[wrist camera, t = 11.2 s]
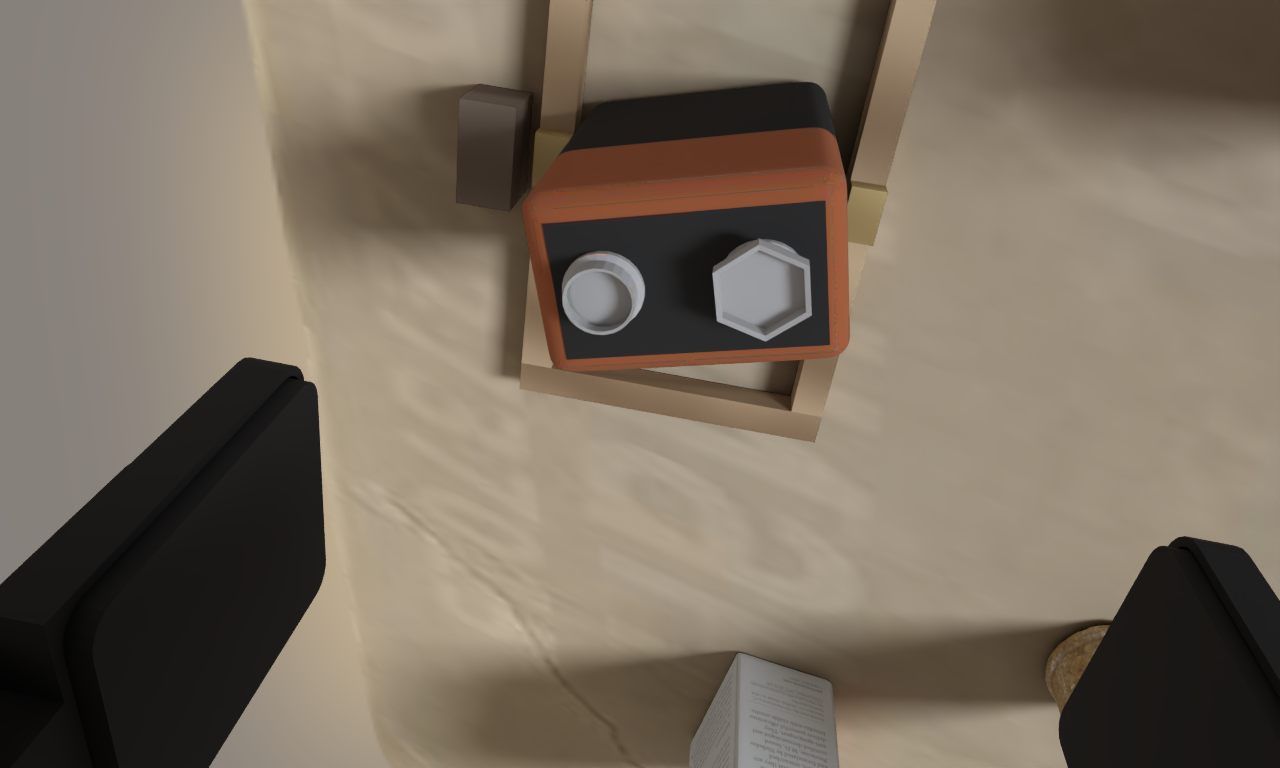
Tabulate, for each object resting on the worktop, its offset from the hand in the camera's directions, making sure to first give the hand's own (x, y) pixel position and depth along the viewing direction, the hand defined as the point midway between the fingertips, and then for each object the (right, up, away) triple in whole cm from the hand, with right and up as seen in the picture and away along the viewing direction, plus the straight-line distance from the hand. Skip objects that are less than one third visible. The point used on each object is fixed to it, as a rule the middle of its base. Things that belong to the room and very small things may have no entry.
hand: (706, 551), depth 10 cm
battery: (+1, +9, +17) cm, 19 cm away
